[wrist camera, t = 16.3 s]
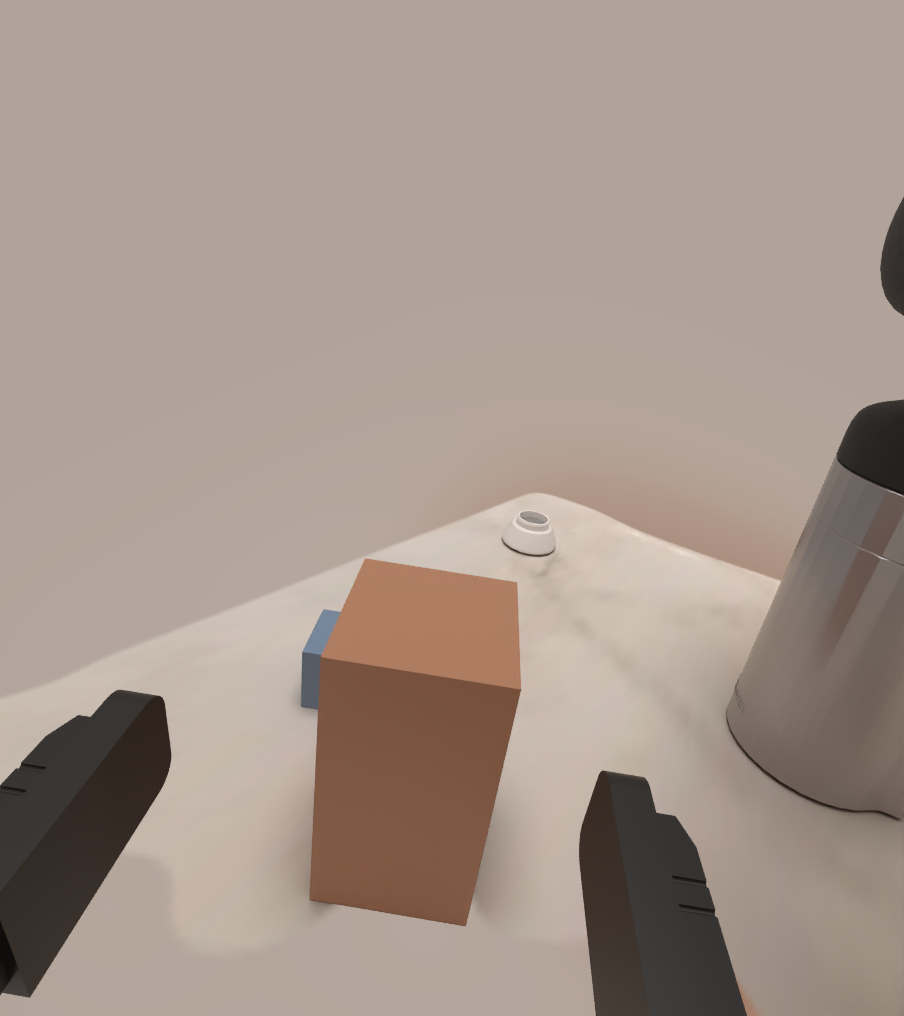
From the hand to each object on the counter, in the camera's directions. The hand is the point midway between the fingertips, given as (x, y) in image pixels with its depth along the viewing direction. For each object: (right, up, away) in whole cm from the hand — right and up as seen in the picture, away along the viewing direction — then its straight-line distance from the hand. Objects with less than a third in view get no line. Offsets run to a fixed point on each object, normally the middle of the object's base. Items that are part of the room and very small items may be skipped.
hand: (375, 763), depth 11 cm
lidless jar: (+9, +1, +44) cm, 45 cm away
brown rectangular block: (-1, -10, +16) cm, 19 cm away
